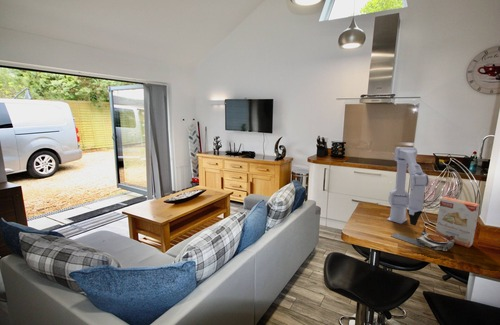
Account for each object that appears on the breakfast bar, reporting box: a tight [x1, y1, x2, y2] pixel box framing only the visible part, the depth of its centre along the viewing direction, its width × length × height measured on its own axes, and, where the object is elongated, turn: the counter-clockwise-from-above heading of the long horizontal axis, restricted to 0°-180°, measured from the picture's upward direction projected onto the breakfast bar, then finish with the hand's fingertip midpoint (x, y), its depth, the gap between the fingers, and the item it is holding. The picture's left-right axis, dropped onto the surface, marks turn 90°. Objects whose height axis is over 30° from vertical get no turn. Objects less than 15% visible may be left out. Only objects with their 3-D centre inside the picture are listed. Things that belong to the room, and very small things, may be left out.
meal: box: [415, 227, 455, 252], centre depth 121 cm, size 15×4×13 cm
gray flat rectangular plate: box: [390, 232, 426, 248], centre depth 125 cm, size 6×14×1 cm, turn 41°
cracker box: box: [434, 196, 481, 248], centre depth 123 cm, size 14×6×21 cm, turn 36°
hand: (413, 224), depth 124 cm, fingers closed
